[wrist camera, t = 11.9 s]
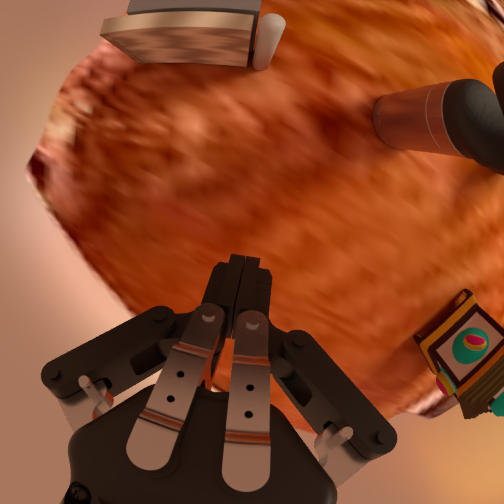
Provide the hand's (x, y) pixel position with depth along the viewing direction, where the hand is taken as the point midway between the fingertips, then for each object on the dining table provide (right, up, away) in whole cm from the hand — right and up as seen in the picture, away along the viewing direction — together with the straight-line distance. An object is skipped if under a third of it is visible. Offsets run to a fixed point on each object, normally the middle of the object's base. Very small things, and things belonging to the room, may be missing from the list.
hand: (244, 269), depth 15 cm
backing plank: (-5, +30, +18) cm, 35 cm away
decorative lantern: (+48, -18, +39) cm, 65 cm away
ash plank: (-8, +29, +18) cm, 35 cm away
